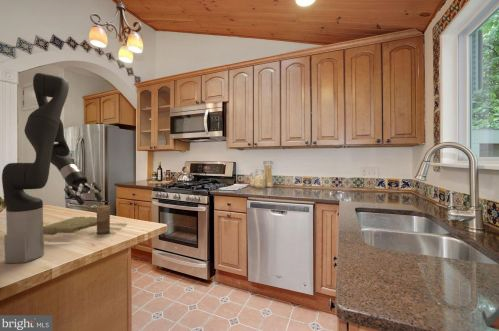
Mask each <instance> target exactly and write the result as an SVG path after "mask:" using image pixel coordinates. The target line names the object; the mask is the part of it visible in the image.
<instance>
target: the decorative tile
mask: <svg viewBox="0 0 499 331" xmlns="http://www.w3.org/2000/svg"><path fill="white" fill-rule="evenodd" d="M94 226H97V217H95V216H87V217H86V216H75V217H71V218H67V219H64V220H61V221H57V222H53V223H51V224H48V225H47V224H46V225H43V233H48V234H47V235H57V234H59V233H68V234H69V233H70V234H71V233H72V234H73V233H74V234H76V233H78V232H79V231H81V230H84V229H85V230H86V229H88V228H90V227H91V228H92V227H94Z"/></svg>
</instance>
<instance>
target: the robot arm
mask: <svg viewBox="0 0 499 331" xmlns="http://www.w3.org/2000/svg"><path fill="white" fill-rule="evenodd" d="M32 86H33V92H34V95H35V98H36V102H37V106H38V108H37V109H34V110H33V111H32V112H31V113H30V114H29V116H28V118H27V121H26V123H25V125H24V126H25V127H24V134H25V137H26V139H27V140H28V142H29V143H30V145H31V146H32V147H33V148H32V149H34V151H35V160H34V162H10V163H7V164H6V165H5V166H4V167H3V169H2V172H1V183H2V192H3V193H2V194H3V202H4V205H5V216H6V219H5V220H6V221H5V222H6V234H5V235H4V238H3V240H4V243H3V244H4V263H5V264H22V263H27V262H29V261H33V260H36V259H38V258H40V257H42V256H43V255H44V254H45V246H44V245H45V240H44V239H45V236H44V235H45V234H43V227H44V202H43V199H41V198H40V197H35V196H31V195H29V194H27V192H25V190H39V189H41V190H42V189H43V188H45V186H46V185H47V183H48V181H49V175H50V168H51V164H52V165H53V166H55V167H56V169H57V170H58V171H59V173H60V175H61V177H62V179H63V180H64V181H65V183H66V186H65V187H64V188H63V190H64V192H65V194H66V196H67V197H68V199H70V200H72V199H74V200H75V202H77V203H78V204H79V205H80V206H83V205H84V204H85V200H84V198H83V197H82V196H81V195H83V194H89V195H92V196H94V197H95V199H96V200H97V202H98V203H99V202H101V201H102V200H103V196H102V195H101V193H102V191H103V190H102V188H101V187H100V186H99V185H98V183H96V181H95V182H92V183H90V182H88V178H87V176H86V175H85V174H84V172H83V171H82V170H81V168H80V167H79V166H78V165H77V164H76V162H75V161H74V159H73V158H72V157H70V156H69V155H70V153H71V149H70V148H69V145H68V144H67V140H66V138H65V130H64V129H65V128H64V123H63V121H62V119H61V116H62V111H63V108H64V106H65V103H66V101H67V98H68V95H69V90H70V85H69V81H68V80H67V79H66V78H64V77H63V76H59V75H53V74H48V73H42V72H36V73H35V74H34V76H33V78H32ZM48 98H51V99H50V100H49V101H48Z"/></svg>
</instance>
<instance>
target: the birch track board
mask: <svg viewBox="0 0 499 331" xmlns="http://www.w3.org/2000/svg"><path fill="white" fill-rule="evenodd" d="M129 224H130V223H129V222H113V223H112V222H110V232H109V233H107V234H102V235H99V234H97V229H95V230H93V231H92V232H90V233H88V234H87V235H86V237H109V236H110V237H111V236H115V234H117V233H118V232H119V231H121V230H122V229H124V227H126V226H127V225H129Z"/></svg>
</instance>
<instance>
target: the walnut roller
mask: <svg viewBox="0 0 499 331" xmlns="http://www.w3.org/2000/svg"><path fill="white" fill-rule="evenodd" d="M110 208H111V206H110V205H108V204H105V205H98V206H96V218H97V225H96V230H97V234H99V235H102V234H107V233H109V232H110V223H111V213H110V211H111V209H110Z"/></svg>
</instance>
